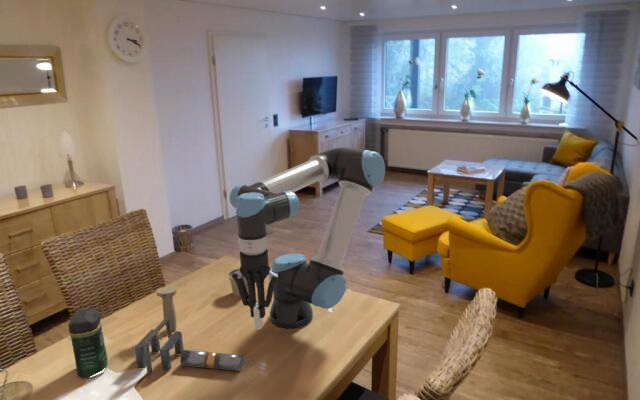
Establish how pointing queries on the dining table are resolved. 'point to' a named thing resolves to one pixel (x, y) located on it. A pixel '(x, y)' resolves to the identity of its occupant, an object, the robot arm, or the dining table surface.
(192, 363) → the tube
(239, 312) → the dining table surface
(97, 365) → the coffee jar
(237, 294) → the flower pot
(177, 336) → the dark grey arch
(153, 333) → the frame
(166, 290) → the handle
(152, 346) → the collar
